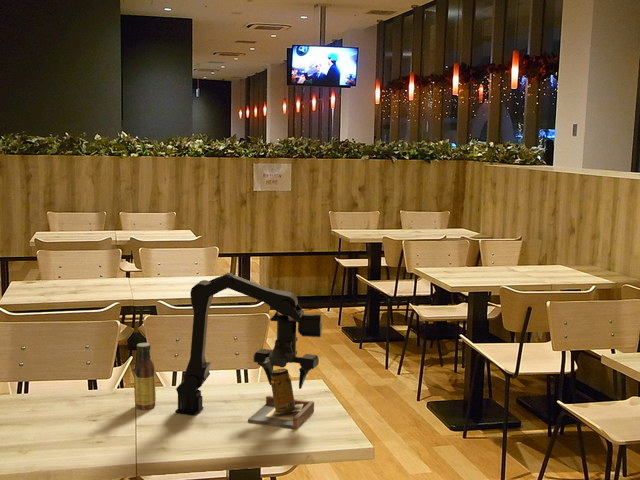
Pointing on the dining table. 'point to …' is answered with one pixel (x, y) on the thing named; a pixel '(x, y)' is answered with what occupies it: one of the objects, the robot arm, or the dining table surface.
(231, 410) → the dining table surface
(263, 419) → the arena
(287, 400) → the condiment
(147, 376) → the sauce bottle
